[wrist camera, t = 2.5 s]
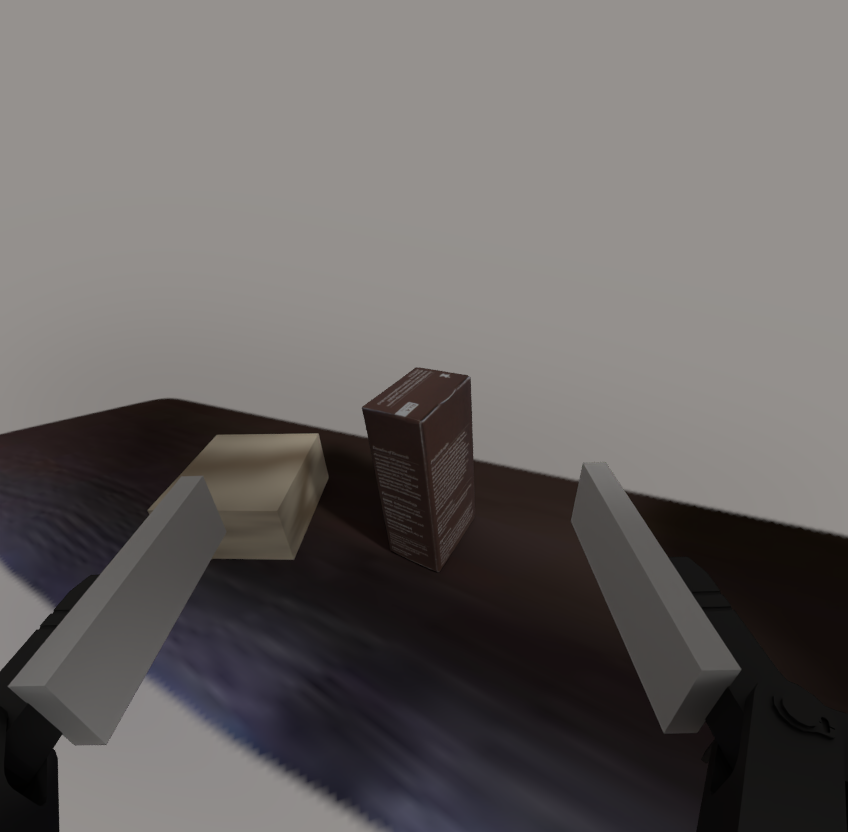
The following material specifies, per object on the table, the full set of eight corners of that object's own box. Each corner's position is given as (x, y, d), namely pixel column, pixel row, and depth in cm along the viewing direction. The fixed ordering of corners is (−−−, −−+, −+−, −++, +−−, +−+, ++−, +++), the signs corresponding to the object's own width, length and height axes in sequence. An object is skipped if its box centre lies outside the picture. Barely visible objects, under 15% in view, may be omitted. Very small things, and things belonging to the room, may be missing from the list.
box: (426, 499, 32) (415, 363, 26) (476, 518, 30) (478, 375, 24) (382, 551, 28) (357, 404, 22) (437, 578, 26) (427, 422, 20)
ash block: (294, 562, 28) (277, 510, 25) (176, 560, 29) (147, 510, 26) (329, 479, 36) (318, 433, 33) (234, 479, 36) (217, 434, 34)
